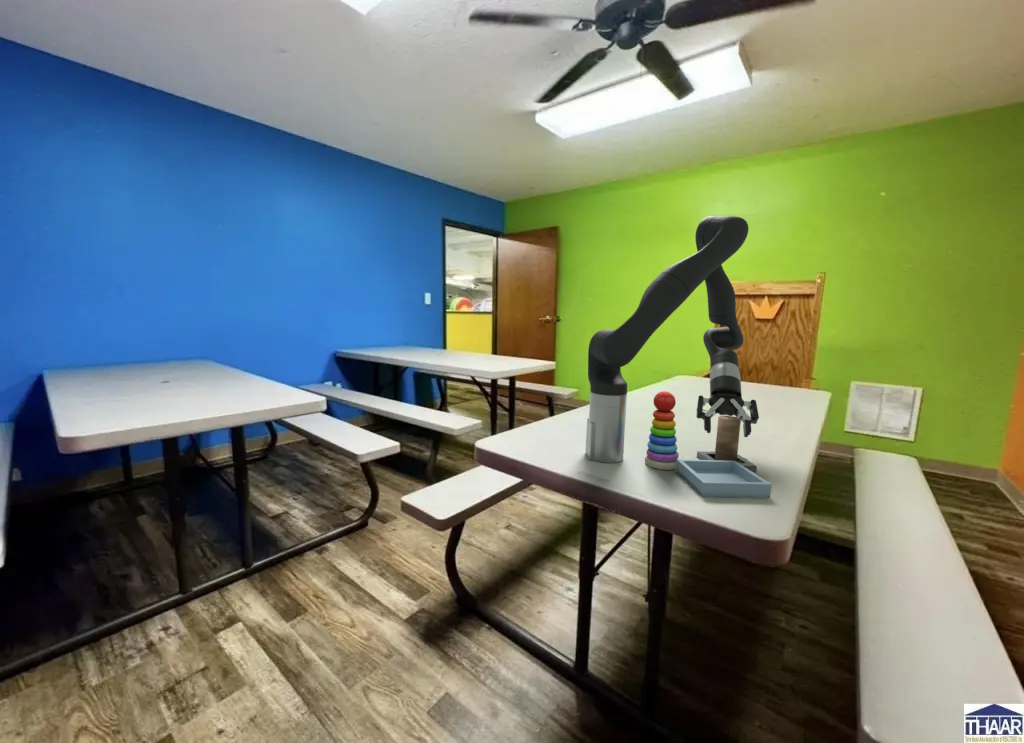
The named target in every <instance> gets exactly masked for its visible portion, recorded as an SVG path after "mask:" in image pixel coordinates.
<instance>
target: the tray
mask: <svg viewBox="0 0 1024 743" xmlns="http://www.w3.org/2000/svg"><path fill="white" fill-rule="evenodd" d="M675 472H676V473H677V474H678V475H679V476H680V477H681V478H682V479H683V480H684V481H685V482H686V483H688V485H689V486H690V487H691V488H693V490H695V492H696V493H698V494H699V495H700V496H701V497H705V498H743V499H744V498H745V499H771V494H772V483H770V482H769V481H767V480H765V479H764V478H763V477H761V476H760V475H758V474H756V473H755V472H752V471H750V470H749V469H747V468H746V467H744V466H742V465H741V464H739V463H738V462H736V461H726V460H700V459H681V458H680V459H679V458H678V459H677V460H676V468H675Z"/></svg>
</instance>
